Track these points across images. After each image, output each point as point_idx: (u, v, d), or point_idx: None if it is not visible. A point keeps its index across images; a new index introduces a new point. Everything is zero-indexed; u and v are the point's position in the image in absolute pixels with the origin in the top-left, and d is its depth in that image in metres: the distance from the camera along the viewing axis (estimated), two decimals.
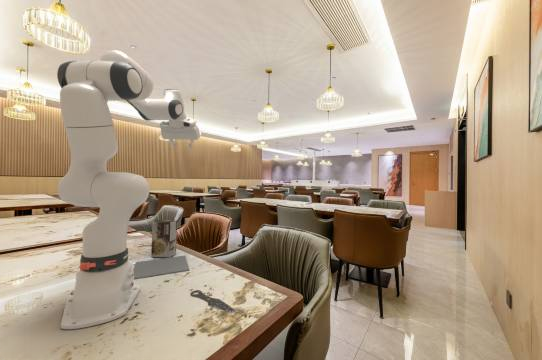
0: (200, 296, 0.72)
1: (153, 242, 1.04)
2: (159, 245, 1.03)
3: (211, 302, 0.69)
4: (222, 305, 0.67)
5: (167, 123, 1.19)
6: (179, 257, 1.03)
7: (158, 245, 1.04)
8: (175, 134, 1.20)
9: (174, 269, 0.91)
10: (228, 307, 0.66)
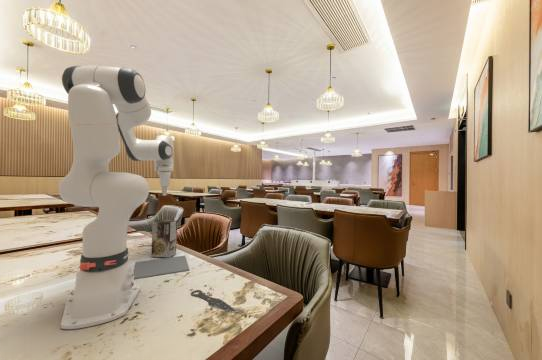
0: (200, 296, 0.72)
1: (153, 242, 1.04)
2: (159, 245, 1.03)
3: (211, 302, 0.69)
4: (223, 305, 0.67)
5: None
6: (179, 257, 1.03)
7: (158, 245, 1.04)
8: None
9: (174, 269, 0.91)
10: (228, 307, 0.66)
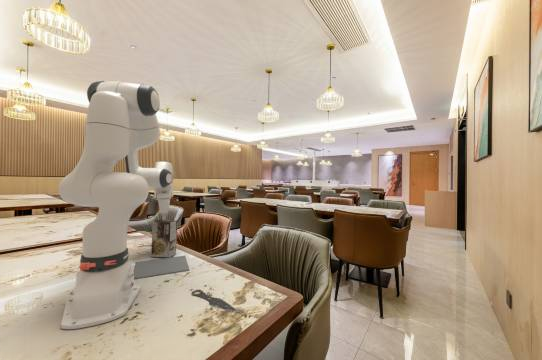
0: (201, 295, 0.72)
1: (153, 242, 1.04)
2: (159, 245, 1.03)
3: (212, 301, 0.69)
4: (223, 304, 0.68)
5: None
6: (179, 257, 1.03)
7: (158, 245, 1.04)
8: None
9: (174, 269, 0.91)
10: (229, 306, 0.67)
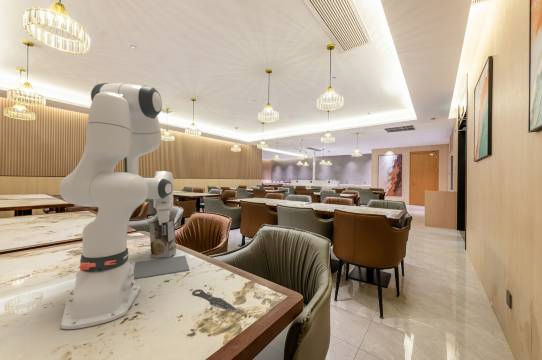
0: (202, 295, 0.72)
1: (152, 243, 1.03)
2: (158, 246, 1.03)
3: (213, 301, 0.69)
4: (224, 304, 0.68)
5: None
6: (179, 257, 1.03)
7: (157, 246, 1.03)
8: None
9: (174, 269, 0.91)
10: (230, 306, 0.67)
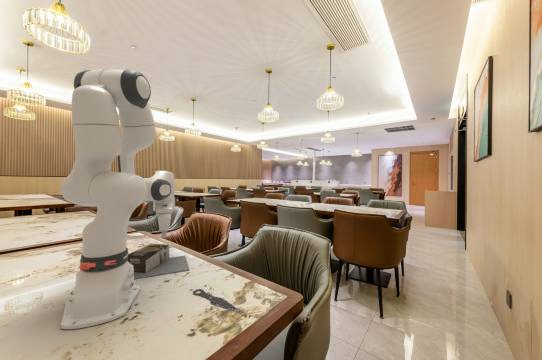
0: (202, 295, 0.73)
1: None
2: None
3: (213, 301, 0.69)
4: (225, 303, 0.68)
5: None
6: (179, 257, 1.03)
7: None
8: None
9: (174, 269, 0.91)
10: (230, 305, 0.67)
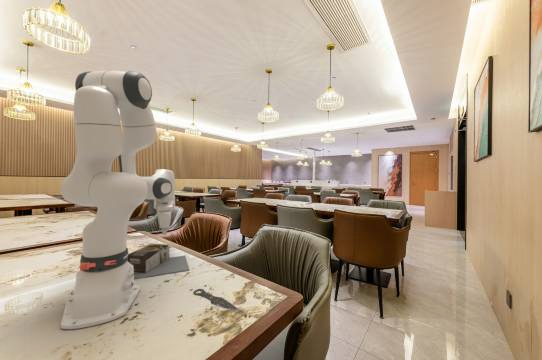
0: (203, 295, 0.73)
1: None
2: None
3: (214, 300, 0.69)
4: (225, 303, 0.68)
5: None
6: (179, 257, 1.03)
7: None
8: None
9: (174, 269, 0.91)
10: (231, 305, 0.67)
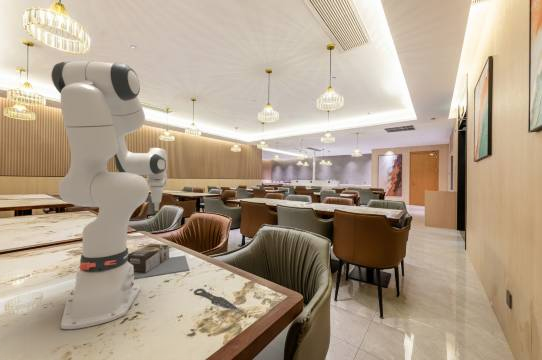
0: (203, 294, 0.73)
1: None
2: None
3: (214, 300, 0.70)
4: (225, 303, 0.68)
5: None
6: (179, 257, 1.03)
7: None
8: None
9: (174, 269, 0.91)
10: (231, 305, 0.67)
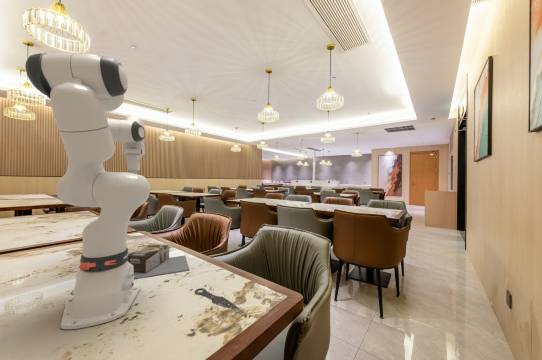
0: (204, 294, 0.73)
1: None
2: None
3: (215, 300, 0.70)
4: (226, 303, 0.69)
5: None
6: (179, 257, 1.03)
7: None
8: None
9: (174, 269, 0.91)
10: (232, 305, 0.67)
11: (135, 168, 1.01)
